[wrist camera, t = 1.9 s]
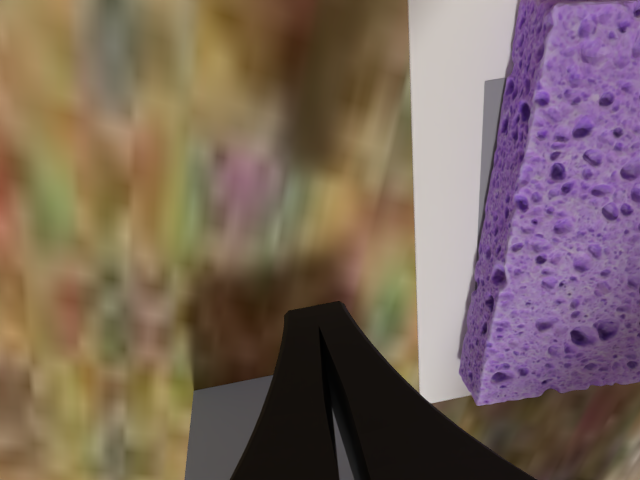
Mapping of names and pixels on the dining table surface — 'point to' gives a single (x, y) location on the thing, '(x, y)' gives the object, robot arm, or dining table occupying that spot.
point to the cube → (232, 429)
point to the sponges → (562, 210)
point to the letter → (452, 166)
